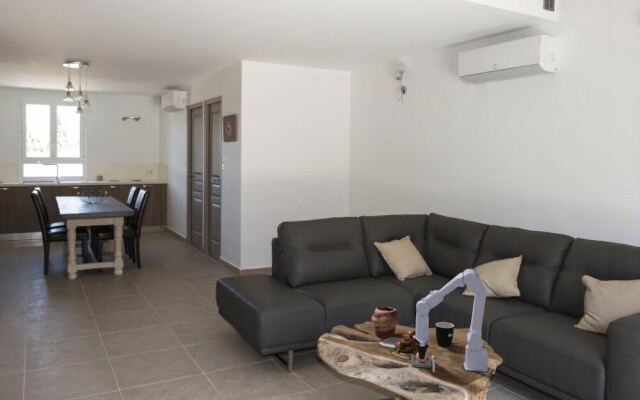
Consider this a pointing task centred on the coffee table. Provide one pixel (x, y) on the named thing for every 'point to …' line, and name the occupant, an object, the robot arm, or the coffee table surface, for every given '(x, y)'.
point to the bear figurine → (406, 346)
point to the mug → (444, 333)
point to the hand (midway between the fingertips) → (421, 356)
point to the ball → (421, 359)
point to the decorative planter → (385, 321)
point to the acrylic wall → (433, 364)
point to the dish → (418, 364)
